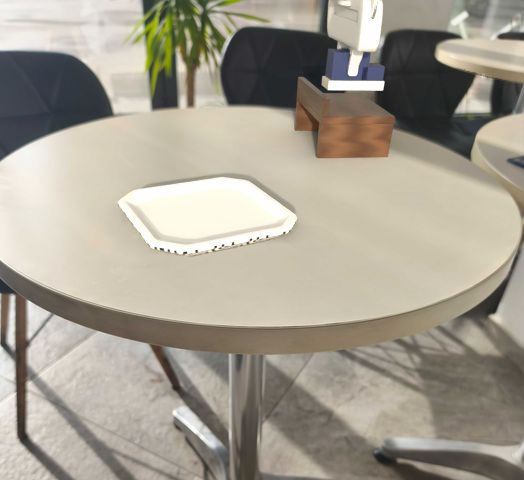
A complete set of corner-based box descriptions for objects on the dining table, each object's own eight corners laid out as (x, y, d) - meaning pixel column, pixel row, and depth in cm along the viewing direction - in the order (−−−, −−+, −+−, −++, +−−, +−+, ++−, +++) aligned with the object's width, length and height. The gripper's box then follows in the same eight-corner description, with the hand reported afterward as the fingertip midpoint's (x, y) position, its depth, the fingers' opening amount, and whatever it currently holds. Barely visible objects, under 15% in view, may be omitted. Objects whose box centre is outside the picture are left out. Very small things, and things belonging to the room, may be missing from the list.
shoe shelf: (355, 128, 110) (362, 77, 104) (387, 157, 95) (398, 98, 89) (294, 129, 108) (298, 76, 102) (317, 158, 93) (323, 98, 87)
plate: (309, 239, 66) (310, 224, 64) (160, 272, 58) (158, 255, 56) (240, 187, 80) (240, 173, 78) (112, 207, 72) (110, 192, 70)
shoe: (374, 85, 98) (380, 49, 94) (383, 90, 95) (389, 53, 91) (321, 85, 97) (325, 48, 93) (327, 90, 93) (331, 52, 89)
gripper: (398, -15, 78) (381, 83, 86) (357, -20, 93) (346, 63, 102) (360, -16, 77) (347, 83, 85) (325, -22, 92) (317, 63, 101)
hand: (346, 72), depth 94 cm, fingers closed on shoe, 4 cm apart
